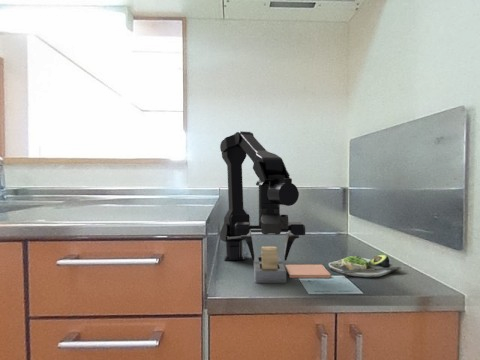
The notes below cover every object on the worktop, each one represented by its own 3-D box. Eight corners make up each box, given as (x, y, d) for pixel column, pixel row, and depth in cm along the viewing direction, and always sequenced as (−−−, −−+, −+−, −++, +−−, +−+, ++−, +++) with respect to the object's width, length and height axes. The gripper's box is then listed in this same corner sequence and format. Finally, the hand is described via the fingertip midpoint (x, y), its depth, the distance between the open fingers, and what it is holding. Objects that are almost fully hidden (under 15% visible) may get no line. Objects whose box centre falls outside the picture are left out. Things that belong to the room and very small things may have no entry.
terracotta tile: (285, 267, 112) (285, 264, 112) (322, 267, 111) (322, 264, 111) (290, 277, 101) (290, 274, 101) (330, 277, 100) (330, 274, 100)
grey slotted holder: (253, 265, 114) (253, 255, 114) (279, 265, 114) (279, 255, 114) (255, 282, 96) (255, 271, 96) (286, 282, 96) (286, 271, 96)
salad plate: (368, 285, 95) (368, 267, 94) (314, 271, 108) (314, 255, 108) (407, 272, 107) (407, 256, 107) (353, 261, 121) (353, 246, 120)
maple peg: (261, 275, 103) (261, 246, 103) (276, 275, 103) (276, 246, 103) (262, 279, 99) (262, 249, 99) (277, 279, 99) (277, 249, 99)
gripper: (234, 205, 93) (234, 268, 93) (309, 205, 93) (309, 267, 93) (235, 202, 104) (235, 257, 104) (301, 201, 104) (301, 257, 104)
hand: (269, 260), depth 101 cm, fingers open, 8 cm apart
